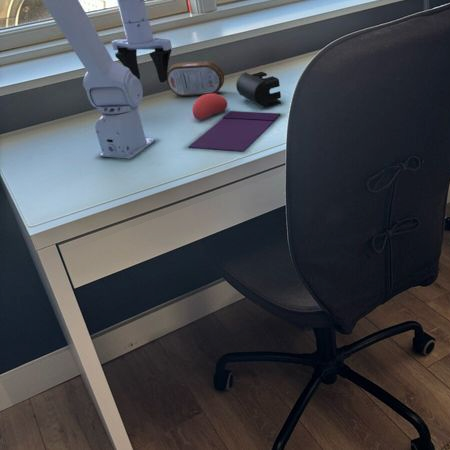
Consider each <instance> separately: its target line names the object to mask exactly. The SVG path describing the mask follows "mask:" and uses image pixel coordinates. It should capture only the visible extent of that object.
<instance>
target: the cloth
mask: <svg viewBox="0 0 450 450" xmlns="http://www.w3.org/2000/svg"><path fill="white" fill-rule="evenodd" d="M281 116H282V113H278V112H257V111H237V110H235V111H234V110H230V111H228V112H227V113H226V114H225V115H224V116H223V117H222V118H221V119H220V120H219V121H217V123H215V124H214V125H212V126H211V128H209V129H207V131H205V133H203V134H202V135H200V136H199V137H198V138H197V139H196V140H195V141H193V142H192V143H191V144H190V145H189V146H188V149H200V150H201V149H202V150H214V151H215V150H216V151H227V152H241V153H244V152H245V151H246V150H247V149H248V148H249V147H250V146H251V145H252V144H253V143H254V142H255V141H256V140H257V139H259V137H260V136H261V135H263V133H265V132H266V130H267V129H269V127H271V125H272V124H274V123H275V122H276V121H277V120H278V119H279V118H280V117H281Z"/></svg>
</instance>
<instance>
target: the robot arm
mask: <svg viewBox="0 0 450 450" xmlns="http://www.w3.org/2000/svg"><path fill="white" fill-rule="evenodd" d="M41 2H42V3H43V5H44V6H45V8H46V10H47V11H48V13H49V14H50V16H51V17H52V19H53V20H54V22H55V24H56V25H57V27H58V29H59V30H60V32H61V33H62V34H63V36H64V38H65V39H66V40H67V42H68V44H69V46H70V47H71V48H72V50H73V51H74V53H75V55H76V56H77V58H78V59H79V61H80V63H81V64H82V65H83V67H84V68H85V70H86V73H85V74H84V77H83V80H82V86H83V88H84V89H85V92H86V96H87V99H88V101H89V103H90V104H91V105H92V106H93V107H94V108H97V110H98V113H101V116H100V118H99V119H98V120H97V121H96V122H95V127H94V128H95V133H96V135H97V139H98V142H99V146H100V149H101V153H100V154H99V155H100V157H105V158H106V157H107V158H117V159H127V160H128V159H129V160H130V159H132V158H134V157H135V156H136V155H138V154H139V153H141V152H142V151H143V150H145V149H146V148H147V147H149V146H150V145H151V144H153V143H154V142H155V141H156V138H151V137H146V135H145V131H144V127H143V123H142V119H141V116H140V111H139V106H140V104H141V102H142V100H143V96H144V94H143V86H142V83H141V81H140V80H141V74H140V69H139V65H138V54H137V51H138V50H153V51H152V52H149V56H150V59H151V61H152V62H153V64H154V67H155V69H156V73H157V78H158V80H159V82H160V83H165V82H166V80H167V73H168V71H169V69H168V68H169V61H170V57H171V54H172V48H173V46H172V42H171V41H172V40H171V39H167V38H159V37H154V35H153V31H152V27H151V22H150V19H149V13H148V9H147V5H146V1H145V0H116V2H117V7H118V10H119V14H120V18H121V23H122V25H123V30H124V34H125V38H121V39H115V40H112V41H111V45H112V49H113V51H117V52H115V54H114V57H115V58H116V59H117V60H118V61H119V62H120V63H118V62H116V61H115V60H114V59H113V57H112V56H111V54H110V52H109V51H108V49H107V47H106V46H105V44H104V42H103V40H102V39H101V37H100V35H99V33H98V31H97V30H96V28H95V26H94V25H93V23H92V21H91V19H90V18H89V16H88V14H87V12H86V11H85V10H84V7H83V6H82V4H81V2H80V1H79V0H41Z"/></svg>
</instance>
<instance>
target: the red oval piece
mask: <svg viewBox="0 0 450 450" xmlns="http://www.w3.org/2000/svg"><path fill="white" fill-rule="evenodd" d="M227 108H228V100H227V99H226V98H225V97H223V96H222V95H221V94H218V93H215V94H214V93H212V94H205V95H200V96H199V97H198V98H196V100H195V101H194V103H193V105H192V109H191V110H192V115H193V117H194V118H195V119H196V120H199V121H201V120H205V119H207V118H208V117H211V116H212V115H214V114H215V115H216V114H217V113H221V112H224V111H225V110H226V109H227Z"/></svg>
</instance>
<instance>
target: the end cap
mask: <svg viewBox="0 0 450 450" xmlns="http://www.w3.org/2000/svg"><path fill="white" fill-rule="evenodd" d="M267 76H268V73H266V72H264V71H259V72H256V73H248V72H243V73H241V74H239V77H238V78H237V80H236V84H235V86H236V91H237V93H238V94H239V95H240V96H242V97H244V98H245V99H247V100H249V101H251V102H253V104H256V105H258V106H260V107H262V108H263V109H269V108H272V107H275V106H279V105H281V104H282V102H281V100H280V99H282V94H281V91H280V90H279V91H276V92H275V91H274V92H270V91H271V90H272V89H275V88H278V87H280V86H281V85H280V79H279V78H278V77H277V76H273V75H272V76H268V77H267ZM263 77H264V78H263Z"/></svg>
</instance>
